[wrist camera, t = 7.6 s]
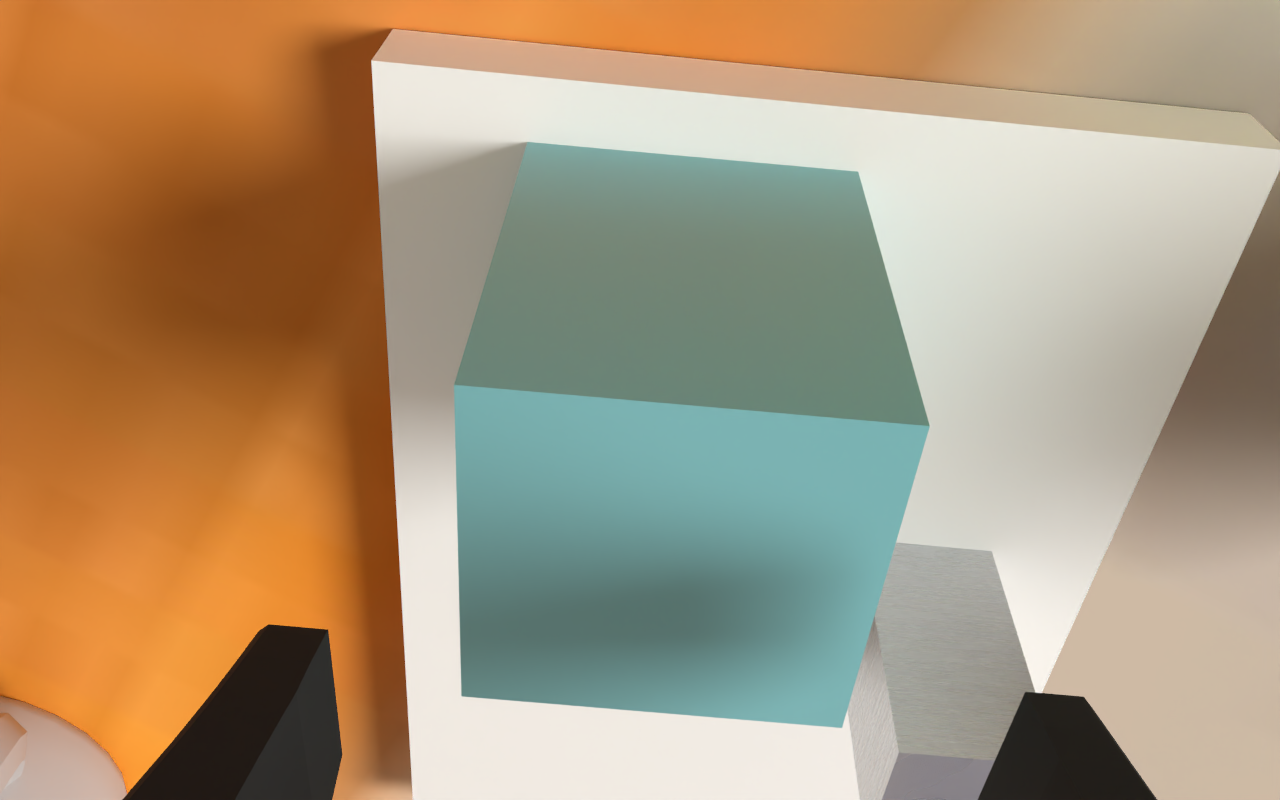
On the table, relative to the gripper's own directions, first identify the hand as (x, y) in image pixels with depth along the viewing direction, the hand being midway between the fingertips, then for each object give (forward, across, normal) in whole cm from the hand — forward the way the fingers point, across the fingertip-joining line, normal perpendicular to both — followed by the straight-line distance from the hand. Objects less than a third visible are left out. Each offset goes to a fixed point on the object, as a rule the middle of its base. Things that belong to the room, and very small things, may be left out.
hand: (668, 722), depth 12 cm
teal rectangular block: (+9, 0, 0) cm, 9 cm away
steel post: (+9, -6, +6) cm, 12 cm away
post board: (+10, -2, +6) cm, 12 cm away
